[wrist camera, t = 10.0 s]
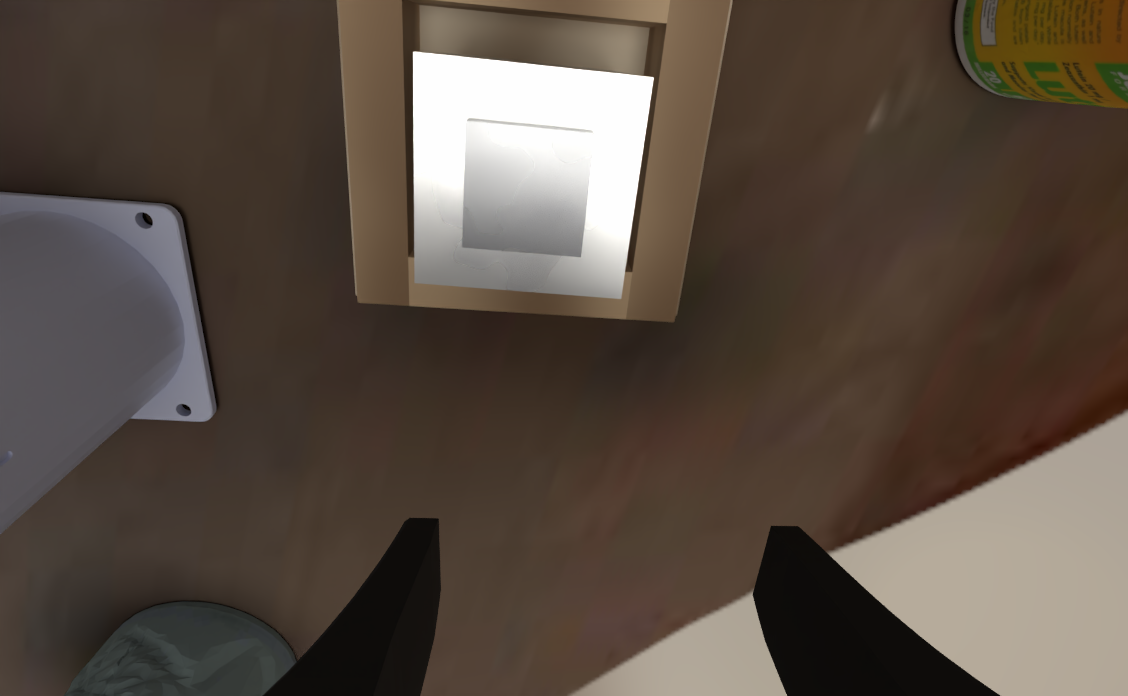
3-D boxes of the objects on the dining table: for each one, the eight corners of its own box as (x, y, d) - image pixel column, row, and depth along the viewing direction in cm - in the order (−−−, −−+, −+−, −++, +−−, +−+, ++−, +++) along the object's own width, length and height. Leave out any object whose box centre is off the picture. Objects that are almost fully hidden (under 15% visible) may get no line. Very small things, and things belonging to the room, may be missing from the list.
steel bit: (453, 209, 19) (409, 292, 13) (456, 53, 18) (406, 51, 11) (593, 222, 20) (624, 309, 13) (611, 70, 18) (659, 78, 11)
